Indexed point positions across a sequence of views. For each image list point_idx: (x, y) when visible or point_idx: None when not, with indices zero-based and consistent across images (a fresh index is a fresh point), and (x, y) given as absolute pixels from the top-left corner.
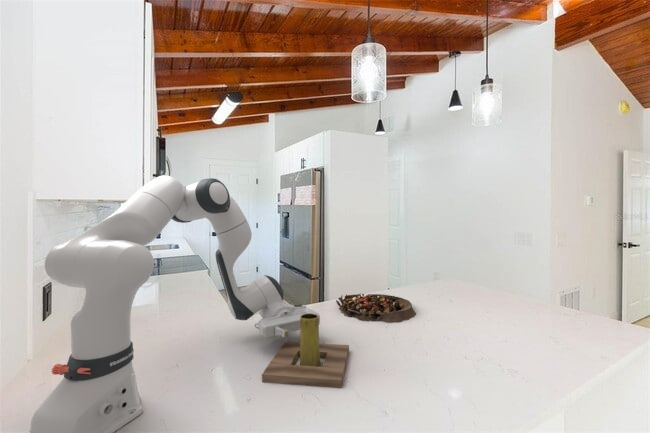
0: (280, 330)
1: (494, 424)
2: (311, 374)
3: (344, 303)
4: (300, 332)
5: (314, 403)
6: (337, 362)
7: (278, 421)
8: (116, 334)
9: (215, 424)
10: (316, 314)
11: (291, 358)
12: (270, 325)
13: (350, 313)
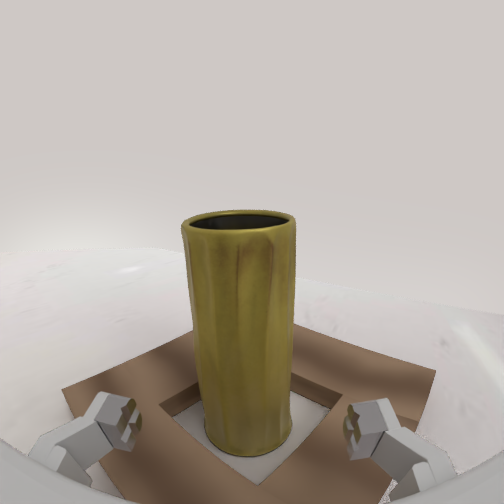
0: (405, 432)
1: (163, 250)
2: (296, 336)
3: None
4: (287, 326)
5: (319, 309)
6: (190, 347)
7: (385, 300)
8: None
9: (472, 312)
10: (187, 219)
11: (324, 433)
12: (497, 457)
13: None
